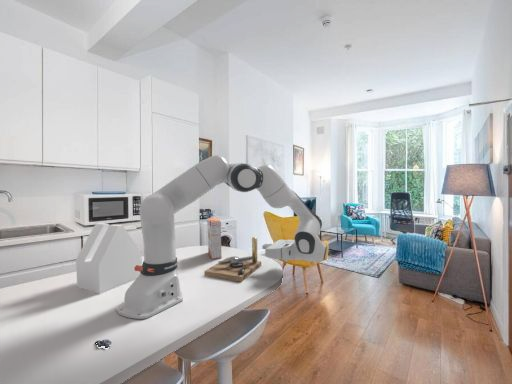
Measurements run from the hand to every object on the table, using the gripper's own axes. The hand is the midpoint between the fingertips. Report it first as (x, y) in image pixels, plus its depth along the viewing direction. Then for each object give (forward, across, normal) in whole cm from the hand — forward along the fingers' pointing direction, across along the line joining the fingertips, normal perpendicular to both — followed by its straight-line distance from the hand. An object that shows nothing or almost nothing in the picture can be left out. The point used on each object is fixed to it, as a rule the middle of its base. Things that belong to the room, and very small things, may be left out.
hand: (263, 246), depth 126 cm
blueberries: (+18, +71, +12) cm, 74 cm away
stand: (+12, +8, +11) cm, 18 cm away
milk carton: (+55, +40, +12) cm, 69 cm away
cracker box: (+34, -9, +11) cm, 37 cm away
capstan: (+10, +6, +8) cm, 15 cm away
